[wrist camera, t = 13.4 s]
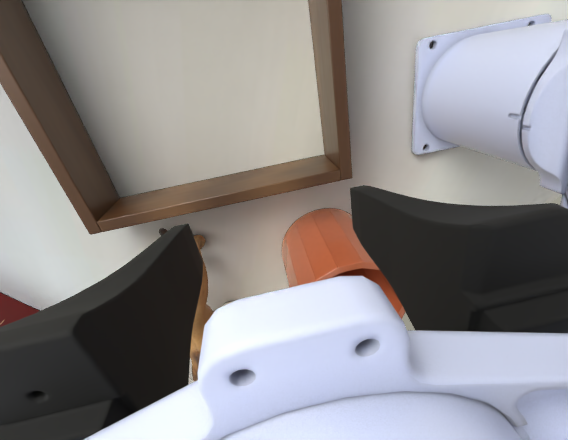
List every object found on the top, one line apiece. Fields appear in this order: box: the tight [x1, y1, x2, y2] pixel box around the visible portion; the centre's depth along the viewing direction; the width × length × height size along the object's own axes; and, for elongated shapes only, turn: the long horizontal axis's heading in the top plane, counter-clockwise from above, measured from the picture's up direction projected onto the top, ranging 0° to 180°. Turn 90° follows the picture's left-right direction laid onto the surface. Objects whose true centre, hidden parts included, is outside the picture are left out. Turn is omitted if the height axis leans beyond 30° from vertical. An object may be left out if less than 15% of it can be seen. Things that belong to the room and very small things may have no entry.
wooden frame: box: [0, 0, 352, 234], centre depth 16 cm, size 18×19×4 cm
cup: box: [282, 208, 406, 319], centre depth 22 cm, size 8×8×8 cm
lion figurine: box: [159, 228, 231, 381], centre depth 22 cm, size 15×5×9 cm, turn 23°
